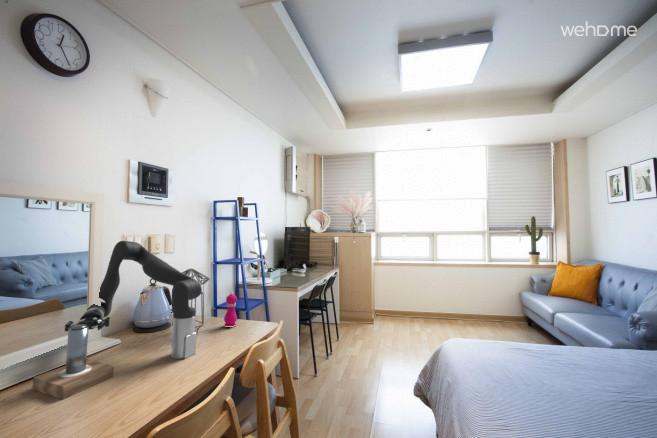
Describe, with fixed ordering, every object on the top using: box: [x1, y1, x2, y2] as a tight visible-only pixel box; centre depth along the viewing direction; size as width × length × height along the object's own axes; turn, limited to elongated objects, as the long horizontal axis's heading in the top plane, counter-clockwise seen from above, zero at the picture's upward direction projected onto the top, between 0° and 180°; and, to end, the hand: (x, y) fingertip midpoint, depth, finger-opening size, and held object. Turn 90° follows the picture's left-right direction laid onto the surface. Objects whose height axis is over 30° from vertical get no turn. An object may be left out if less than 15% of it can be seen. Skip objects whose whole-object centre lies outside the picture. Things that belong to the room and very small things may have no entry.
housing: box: [65, 324, 89, 374], centre depth 106 cm, size 6×6×16 cm
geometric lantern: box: [171, 268, 211, 334], centre depth 157 cm, size 16×16×35 cm
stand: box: [32, 358, 115, 400], centre depth 105 cm, size 16×16×4 cm
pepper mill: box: [223, 291, 238, 327], centre depth 171 cm, size 7×7×20 cm
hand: (85, 329), depth 116 cm, fingers open, 8 cm apart
